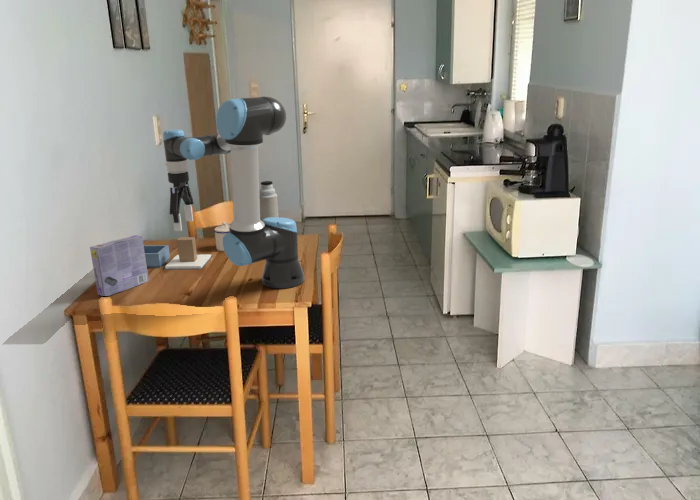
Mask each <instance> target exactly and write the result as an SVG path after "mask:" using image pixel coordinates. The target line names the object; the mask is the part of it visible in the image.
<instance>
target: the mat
mask: <svg viewBox="0 0 700 500" xmlns="http://www.w3.org/2000/svg"><path fill="white" fill-rule="evenodd" d="M213 257H214V256H213V255H211V258H210V259H209V260H208V261H207V262H206V263H205V264H204V266H203V267H202V268H200V269H165V267H164V268H163V270H164V271H166V270H167V271H175V270H177V271H178V270H179V271H180V270H182V271H183V270H184V271H185V270H186V271H187V270H190V271H192V270H203V268H204V267H205V266H206V265H207V264H208V263H209V261H210V260H212V258H213Z"/></svg>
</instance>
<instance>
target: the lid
mask: <svg viewBox="0 0 700 500" xmlns="http://www.w3.org/2000/svg"><path fill="white" fill-rule="evenodd" d="M176 242H177V251H178V254H176V255H175V256H174V257H173V258H172V259H171V260H170V261H168V263H167V264H166V265H165V266H164V268H165V269H200V268H202V267H203V266H204V264H205V263H206V262H207V261H208V260H209V259H210V258H211V256H212V254H211V253H210V254H207V253H206V254H198V253H197V252H198V251H197V244H196V237H195V236H191V237H189V236H183V237H182V236H180V237H178V239H176ZM211 259H212V258H211ZM211 259H210V260H211ZM210 260H209V261H210ZM209 261H208V262H209ZM204 267H205V266H204ZM204 267H203V268H204ZM203 268H202V269H203Z"/></svg>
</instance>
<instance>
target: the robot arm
mask: <svg viewBox="0 0 700 500" xmlns="http://www.w3.org/2000/svg"><path fill="white" fill-rule="evenodd" d="M286 120H287V112H286V109H285V107H284V106H283V104H282V103H281V102H280V101H279V100H277V99H276V98H273V97H271V96H258V97H254V96H253V97H239V98H238V97H236V98H231V99H227V100H225V101H223V102H222V103H221V105H220V106H219V107H218V110H217V112H216V117H215V122H216V128H217V131H218V132H217V133H216V134H215V133H214V134H208V135H199V136H198V135H197V136H189V137H188V136H185V132H184V131H183V130H182V129H179V128H178V129H167V130H164V131H163V132H162V134H163V135H162V137H163V141H162V142H163V148H164V154H165V161H166V162H165V166H166V168H167V169H166V170H167V180H168V183H170V184H172V186H173V187H170V188H169V191H170V193H169V194H170V198H169V216H170V215H171V216H172V221H173V222H172V223H173V230H174V232H182V231H183V228H182V218H181V213H180V207H181V201H183V203H184V205H183V207H184V209H183V210H184V216H185V217H184V218H185V222H194V216H193V207H192V205H194V199H193V195H192V192H191V188H190V185H189V181H190V175H189V171H188V170H189V166H188V160H189V161H197V160H199V159H202V158H206V157H210V156H211V157H212V156H217V155H226V154H230V162H231V164H230V166H231V167H230V168H231V189H232V190H231V191H232V193H231V194H232V211H233V212H232V213H233V220H232V221H231V222H230V223H229V233H227V234H226V235H224V237H223V248H224V251H223V252H224V253H225V255H226V257H227V258H228V260H229V261H230V262H231V263H232V264H233V265H235V266H237V267H244V266H250V265H252V264H255V263H258V262H261V261H264V260H265V263H264V267H263V271H262V276H261V281H262V283H261V284H262V285H263V286H265V287H266V288H267V287H268V288H272V289H290V288H294V287H297V286H299V285H301V284H303V283H305V273H304V270H303V267H302V265H301V262H300V259H299V247H298V230H297V229H298V228H297V223H296V221H295V220H294V219H292V218H288V217H281V216H280V217H269V218H265V219H263V222H262V221H261V220H260V198H259V195H260V193H259V190H260V172H259V171H260V167H259V165H260V164H259V148H260V147H261V146H262V145H263V143H264V136H269V135H273V134H274V133H277V132H279V131H281V129H283V128H284V126H285V124H286Z"/></svg>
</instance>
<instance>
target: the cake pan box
mask: <svg viewBox="0 0 700 500" xmlns="http://www.w3.org/2000/svg"><path fill="white" fill-rule="evenodd" d="M144 245H145V244H144V236H143V235H138V234H137V235H136V234H134V235H130V236H127V237H122V238H119V239H115V240H111V241H108V242H103V243H101V244H96V245H92V246H90V247H89V250H90V256H91V261H92V262H91V263H92V268H93V273H94V280H95V285H96V291H97V292H96V293H97V295H98V296H101V297H103V296H108V297H110V296H112V295H115V294H118V293H121V292H125V291H127V290H130V289H134V288H135V287H138V286H140V285H143V284H144V283H148V282H149V272H148V268H147V265H146V258H145V251H144Z"/></svg>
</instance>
